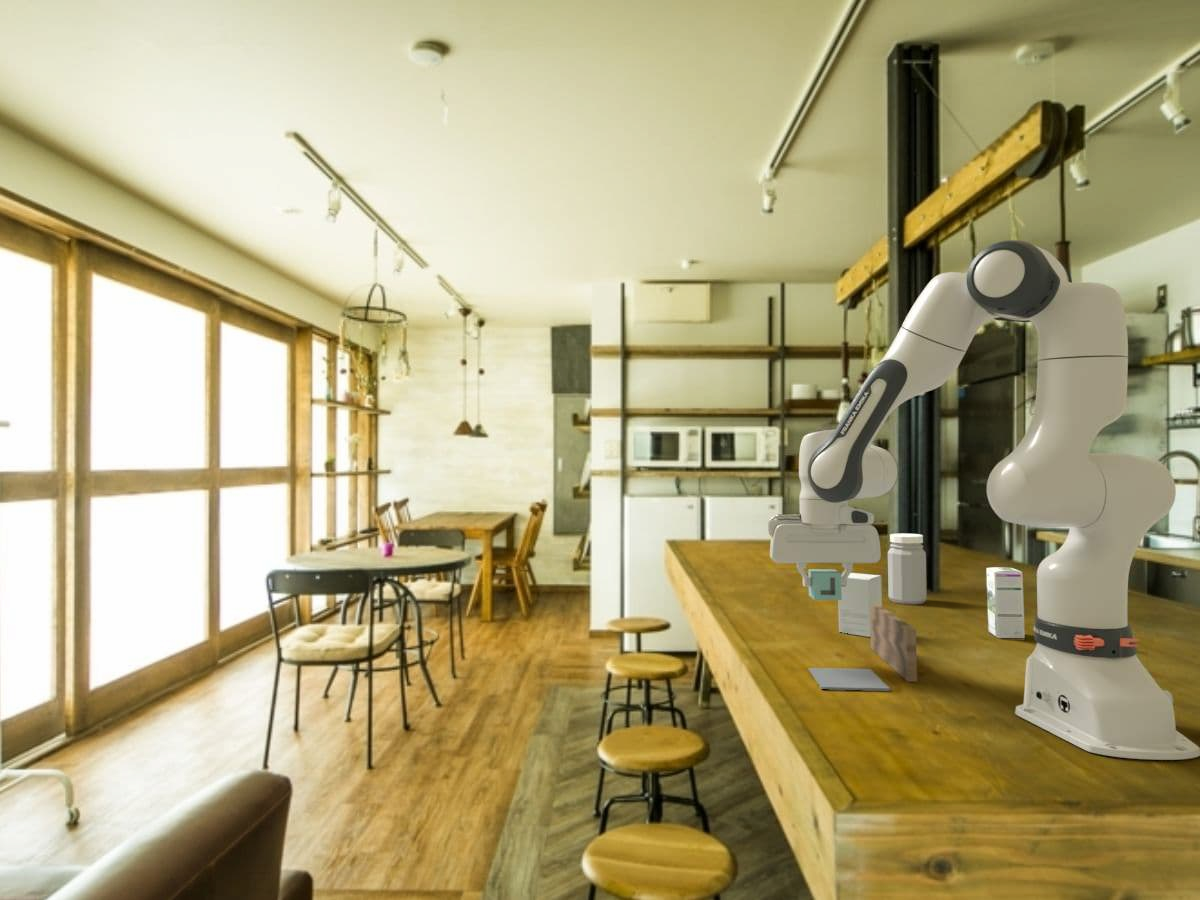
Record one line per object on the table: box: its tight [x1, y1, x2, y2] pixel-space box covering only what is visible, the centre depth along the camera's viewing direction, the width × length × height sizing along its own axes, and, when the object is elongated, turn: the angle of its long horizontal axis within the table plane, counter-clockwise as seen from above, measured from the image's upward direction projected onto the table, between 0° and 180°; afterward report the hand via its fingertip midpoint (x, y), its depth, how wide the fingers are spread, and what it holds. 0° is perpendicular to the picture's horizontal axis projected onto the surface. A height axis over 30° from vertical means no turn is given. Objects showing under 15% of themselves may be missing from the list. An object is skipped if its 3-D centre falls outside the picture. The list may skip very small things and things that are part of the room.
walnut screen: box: [870, 604, 918, 683], centre depth 133 cm, size 22×2×9 cm, turn 175°
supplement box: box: [837, 572, 883, 638], centre depth 158 cm, size 7×7×13 cm
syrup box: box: [985, 566, 1026, 639], centre depth 154 cm, size 6×6×14 cm
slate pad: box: [807, 667, 891, 692], centre depth 123 cm, size 11×11×1 cm
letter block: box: [808, 569, 842, 601], centre depth 136 cm, size 5×5×5 cm
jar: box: [887, 532, 928, 605], centre depth 192 cm, size 10×10×18 cm
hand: (824, 586), depth 136 cm, fingers closed on letter block, 5 cm apart
